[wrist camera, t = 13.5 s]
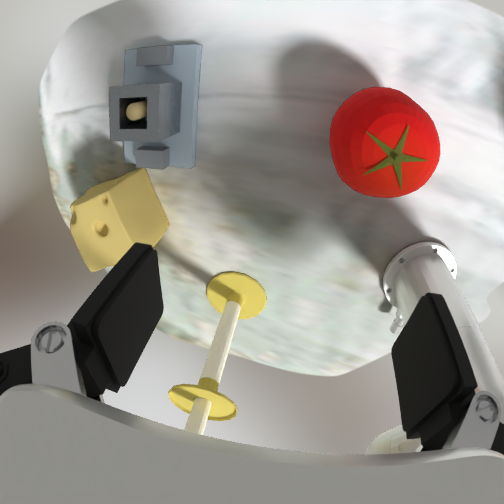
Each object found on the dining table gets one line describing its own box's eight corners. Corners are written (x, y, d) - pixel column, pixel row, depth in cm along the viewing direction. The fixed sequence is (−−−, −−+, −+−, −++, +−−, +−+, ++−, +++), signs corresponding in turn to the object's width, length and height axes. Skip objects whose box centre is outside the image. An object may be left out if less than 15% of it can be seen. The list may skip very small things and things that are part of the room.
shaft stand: (195, 165, 37) (174, 182, 31) (130, 160, 38) (102, 176, 32) (202, 45, 28) (179, 38, 23) (131, 50, 29) (100, 49, 23)
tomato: (393, 75, 27) (437, 74, 16) (421, 157, 31) (468, 194, 20) (308, 105, 31) (311, 115, 20) (343, 184, 35) (359, 233, 25)
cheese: (96, 183, 41) (56, 211, 33) (148, 161, 38) (108, 187, 30) (122, 239, 46) (90, 274, 38) (175, 226, 43) (145, 264, 35)
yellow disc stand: (215, 262, 45) (109, 515, 14) (276, 286, 46) (223, 549, 14) (201, 305, 51) (117, 514, 19) (254, 325, 51) (201, 541, 20)
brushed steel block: (182, 82, 30) (159, 83, 25) (180, 132, 33) (158, 142, 28) (136, 83, 30) (109, 87, 25) (135, 130, 34) (110, 140, 29)
